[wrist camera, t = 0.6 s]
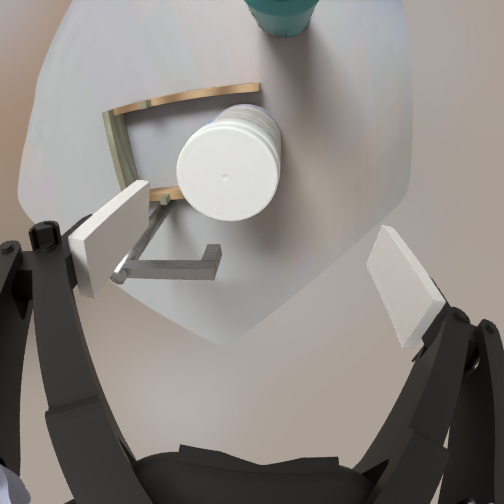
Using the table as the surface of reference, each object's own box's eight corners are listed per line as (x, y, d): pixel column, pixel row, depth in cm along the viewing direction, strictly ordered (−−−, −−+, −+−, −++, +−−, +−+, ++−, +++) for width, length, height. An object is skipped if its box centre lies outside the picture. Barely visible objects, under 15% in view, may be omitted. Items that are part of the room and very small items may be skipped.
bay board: (260, 82, 31) (257, 83, 28) (268, 187, 40) (266, 199, 37) (116, 107, 34) (102, 112, 31) (137, 196, 43) (126, 207, 39)
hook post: (237, 191, 41) (209, 272, 26) (238, 203, 42) (213, 287, 27) (162, 196, 42) (106, 270, 28) (165, 207, 43) (112, 283, 29)
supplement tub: (217, 98, 33) (178, 114, 21) (288, 111, 33) (292, 135, 21) (207, 163, 38) (171, 213, 27) (273, 177, 39) (266, 233, 27)
